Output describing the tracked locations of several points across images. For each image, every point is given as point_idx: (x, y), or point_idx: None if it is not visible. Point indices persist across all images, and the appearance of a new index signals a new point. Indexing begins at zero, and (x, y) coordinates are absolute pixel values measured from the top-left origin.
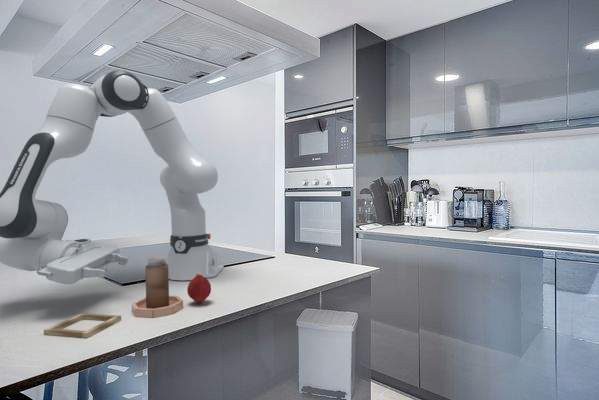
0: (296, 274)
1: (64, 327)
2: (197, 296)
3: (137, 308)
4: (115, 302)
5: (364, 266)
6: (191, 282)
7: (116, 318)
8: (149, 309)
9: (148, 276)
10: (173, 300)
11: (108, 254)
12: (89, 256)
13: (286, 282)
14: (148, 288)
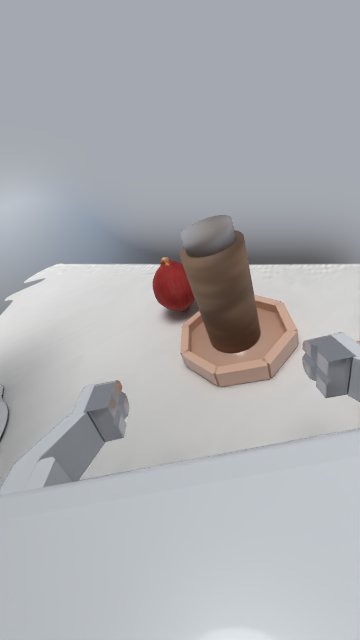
0: (45, 298)
1: None
2: None
3: (292, 328)
4: None
5: (38, 272)
6: (182, 273)
7: (357, 342)
8: (283, 307)
9: (247, 264)
10: (191, 334)
11: (74, 484)
12: (298, 584)
13: (83, 288)
14: (252, 293)
